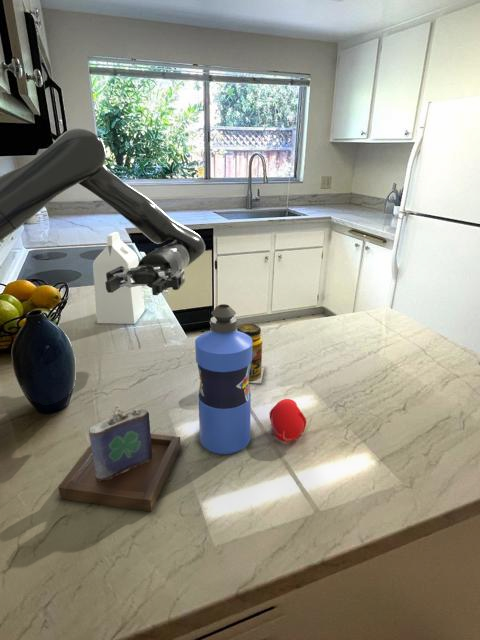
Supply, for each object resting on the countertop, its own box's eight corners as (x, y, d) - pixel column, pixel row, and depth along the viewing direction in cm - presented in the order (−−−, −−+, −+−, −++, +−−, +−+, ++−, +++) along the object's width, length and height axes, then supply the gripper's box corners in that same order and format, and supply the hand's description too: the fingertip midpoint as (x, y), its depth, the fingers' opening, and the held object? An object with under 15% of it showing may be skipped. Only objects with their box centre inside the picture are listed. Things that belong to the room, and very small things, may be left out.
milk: (110, 309, 133) (100, 230, 124) (144, 310, 133) (138, 230, 123) (97, 323, 122) (85, 237, 112) (134, 323, 122) (126, 237, 112)
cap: (310, 445, 70) (312, 416, 68) (277, 449, 69) (278, 420, 67) (296, 418, 78) (298, 391, 75) (266, 421, 77) (267, 394, 74)
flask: (99, 484, 60) (89, 424, 56) (92, 472, 62) (83, 414, 59) (155, 459, 65) (150, 403, 62) (148, 449, 68) (142, 394, 64)
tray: (60, 498, 59) (58, 487, 58) (105, 438, 72) (103, 428, 71) (151, 512, 57) (150, 500, 56) (180, 447, 70) (180, 436, 69)
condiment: (261, 384, 89) (262, 334, 85) (223, 380, 91) (223, 332, 86) (264, 368, 96) (265, 322, 92) (229, 365, 97) (229, 319, 93)
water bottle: (193, 451, 69) (186, 315, 59) (205, 419, 77) (201, 295, 68) (247, 457, 67) (249, 318, 58) (253, 423, 76) (255, 298, 67)
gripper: (129, 247, 86) (91, 266, 71) (193, 250, 84) (168, 270, 69) (132, 281, 89) (96, 306, 74) (195, 285, 87) (170, 311, 72)
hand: (131, 288), depth 71 cm, fingers open, 8 cm apart
